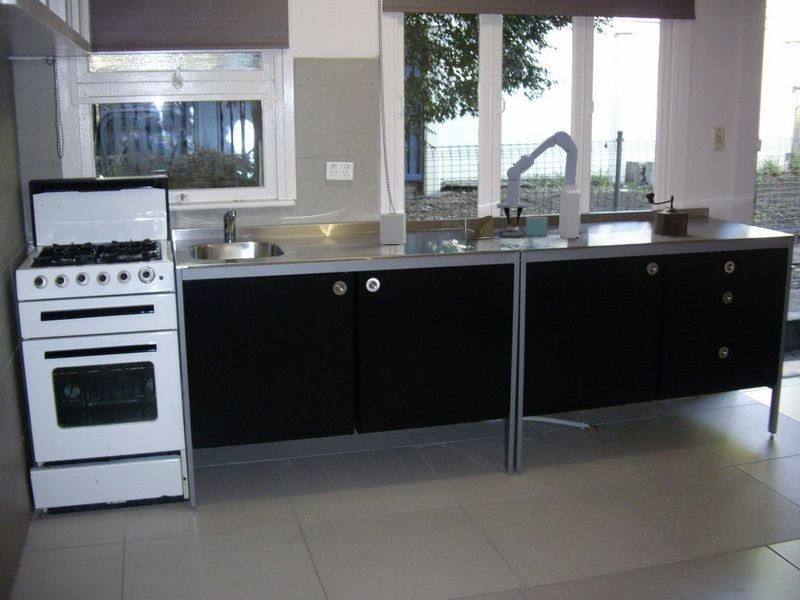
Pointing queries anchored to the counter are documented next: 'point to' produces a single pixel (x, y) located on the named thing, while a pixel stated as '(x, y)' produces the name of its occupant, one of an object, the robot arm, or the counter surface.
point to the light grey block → (392, 228)
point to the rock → (484, 228)
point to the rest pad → (513, 234)
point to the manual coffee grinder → (668, 218)
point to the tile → (536, 226)
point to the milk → (569, 212)
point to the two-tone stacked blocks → (513, 224)
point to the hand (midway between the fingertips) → (513, 224)
